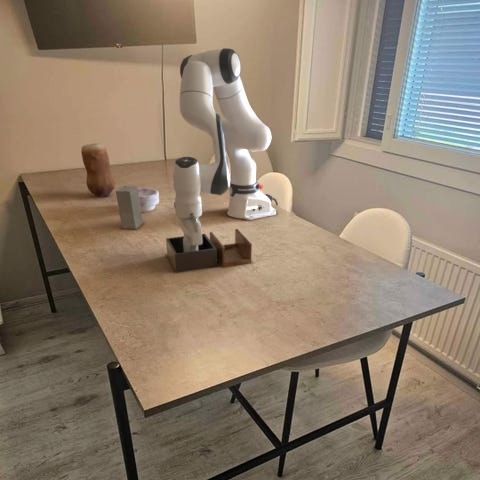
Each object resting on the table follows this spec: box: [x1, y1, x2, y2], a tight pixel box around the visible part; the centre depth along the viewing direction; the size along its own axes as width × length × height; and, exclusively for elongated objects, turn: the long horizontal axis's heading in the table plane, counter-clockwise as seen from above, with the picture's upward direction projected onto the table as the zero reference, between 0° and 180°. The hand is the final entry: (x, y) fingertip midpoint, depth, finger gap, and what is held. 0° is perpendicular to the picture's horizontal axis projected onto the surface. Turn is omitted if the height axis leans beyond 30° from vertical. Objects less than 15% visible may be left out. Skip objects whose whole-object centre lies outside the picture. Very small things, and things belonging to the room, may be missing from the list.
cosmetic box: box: [115, 185, 144, 230], centre depth 176 cm, size 8×7×16 cm
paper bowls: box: [138, 187, 160, 213], centre depth 196 cm, size 15×15×8 cm
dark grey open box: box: [165, 233, 218, 273], centre depth 151 cm, size 15×15×7 cm
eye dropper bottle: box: [183, 237, 198, 252], centre depth 149 cm, size 4×6×12 cm
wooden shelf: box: [209, 228, 253, 268], centre depth 154 cm, size 11×15×7 cm
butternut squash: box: [80, 142, 116, 198], centre depth 207 cm, size 14×13×25 cm
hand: (190, 247), depth 150 cm, fingers closed on eye dropper bottle, 5 cm apart
